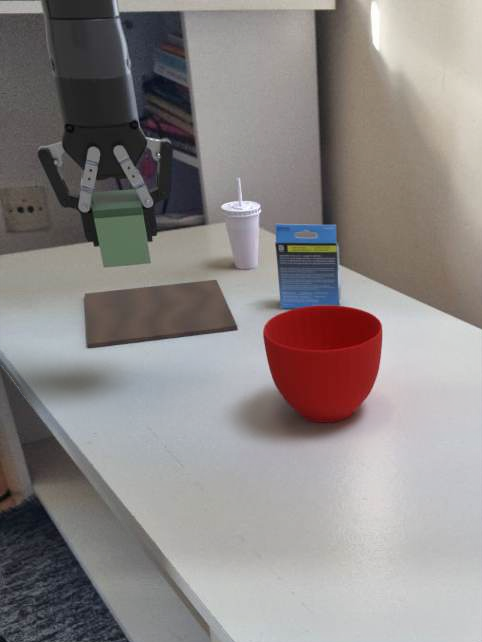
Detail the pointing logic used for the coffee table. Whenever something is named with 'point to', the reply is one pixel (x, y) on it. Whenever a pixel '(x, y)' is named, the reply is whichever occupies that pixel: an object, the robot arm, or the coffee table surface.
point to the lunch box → (120, 228)
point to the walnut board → (156, 313)
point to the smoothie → (243, 230)
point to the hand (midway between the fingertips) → (123, 241)
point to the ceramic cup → (324, 359)
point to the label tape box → (307, 266)
